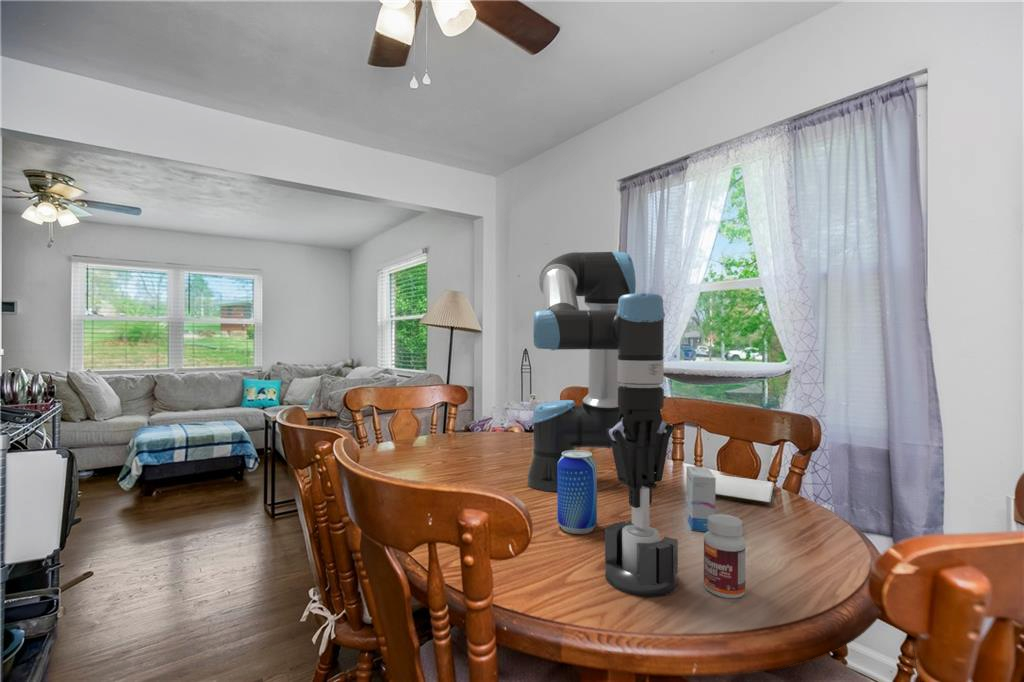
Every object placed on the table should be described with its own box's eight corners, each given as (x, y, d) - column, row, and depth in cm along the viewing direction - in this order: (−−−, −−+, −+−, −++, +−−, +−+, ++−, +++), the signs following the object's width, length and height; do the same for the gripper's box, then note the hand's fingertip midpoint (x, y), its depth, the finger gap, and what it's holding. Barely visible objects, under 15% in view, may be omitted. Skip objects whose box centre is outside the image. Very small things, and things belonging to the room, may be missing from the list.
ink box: (716, 533, 99) (716, 476, 99) (691, 531, 100) (691, 475, 100) (708, 518, 108) (708, 466, 108) (685, 516, 109) (685, 465, 109)
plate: (774, 489, 130) (774, 481, 130) (770, 509, 114) (770, 501, 114) (701, 479, 140) (701, 472, 140) (689, 496, 124) (689, 488, 124)
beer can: (601, 524, 104) (601, 451, 104) (590, 538, 96) (590, 459, 96) (564, 518, 107) (564, 447, 108) (551, 531, 100) (551, 455, 100)
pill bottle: (698, 590, 76) (698, 520, 76) (710, 576, 81) (710, 509, 81) (739, 604, 72) (739, 529, 72) (750, 588, 77) (750, 518, 77)
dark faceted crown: (591, 570, 82) (591, 527, 82) (643, 557, 87) (643, 517, 88) (636, 603, 72) (636, 554, 72) (692, 586, 77) (692, 540, 77)
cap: (614, 563, 81) (615, 526, 81) (642, 556, 84) (642, 520, 84) (638, 578, 76) (638, 539, 76) (666, 571, 78) (667, 533, 78)
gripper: (624, 388, 74) (624, 540, 74) (685, 385, 79) (685, 526, 79) (595, 385, 80) (595, 523, 80) (654, 382, 86) (654, 512, 86)
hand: (640, 525), depth 80 cm, fingers closed
